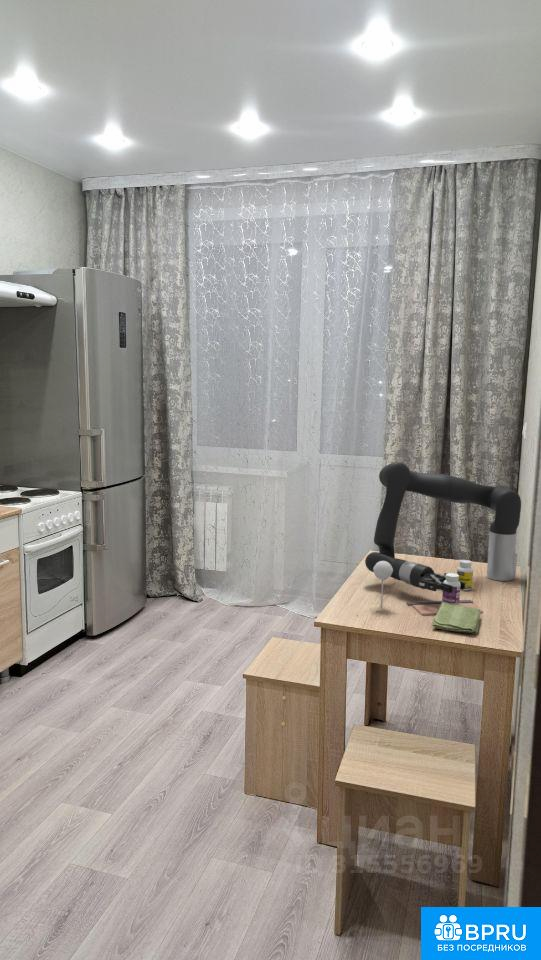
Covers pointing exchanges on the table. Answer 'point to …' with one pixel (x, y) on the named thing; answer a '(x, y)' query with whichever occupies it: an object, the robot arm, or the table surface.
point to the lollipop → (382, 573)
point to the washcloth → (457, 618)
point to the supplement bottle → (465, 573)
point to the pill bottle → (455, 596)
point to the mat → (436, 606)
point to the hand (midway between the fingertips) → (458, 588)
